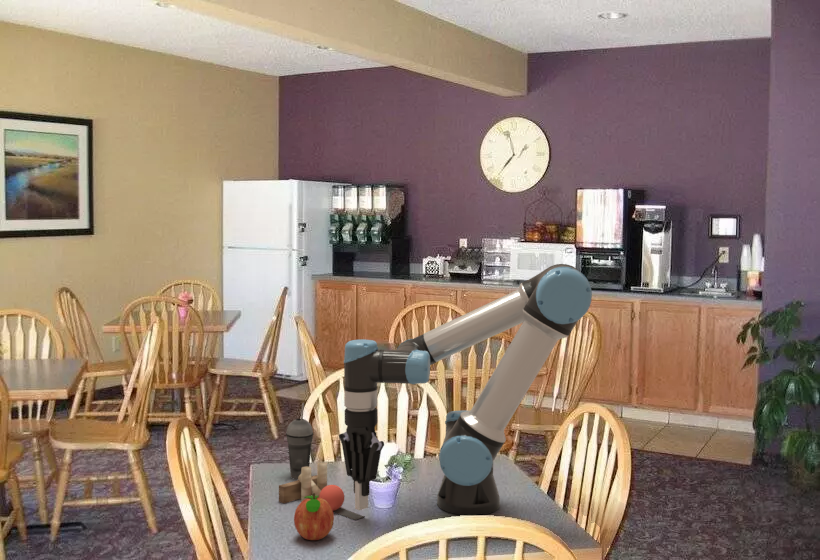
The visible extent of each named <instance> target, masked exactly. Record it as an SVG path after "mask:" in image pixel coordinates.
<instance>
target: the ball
mask: <svg viewBox="0 0 820 560" xmlns="http://www.w3.org/2000/svg"><path fill="white" fill-rule="evenodd" d="M319 498H322V499H324V500H325V501H327V502H328V504H329V505H330V506H331V508H332V510H333V511H334V510H337V509H339V508H342V506H343V504H344V502H345V493H344V491H343V489H342V488H341V487H340V486H338V485H336V484H327V486H326V487H324V488H323V489H322V490H321V492H320V495H319Z"/></svg>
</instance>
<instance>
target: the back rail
mask: <svg viewBox="0 0 820 560" xmlns="http://www.w3.org/2000/svg"><path fill="white" fill-rule="evenodd" d="M311 479H312V481H313V482H314V483H315V484H316V485H317V474H316V475H311ZM297 500H301V482H300V481H299V480H298V479H296V480H293V481H290V482H287V483H282V484H279V485H278V502H279V503H282V504H287V503H290V502H295V501H297Z"/></svg>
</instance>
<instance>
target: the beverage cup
mask: <svg viewBox="0 0 820 560" xmlns="http://www.w3.org/2000/svg"><path fill="white" fill-rule="evenodd" d="M304 409H305V402H302V404H301V412H300V418H296V419H293V420H292V421H291V422H290V423H289V424H288V426H287V427H286V433H285V436H286V441H287V447H288V458H289V459H288V460H289V470H290V478H291V477H292V478H291V479H293V478H294V479H293V480H298V477H299V475H300V474H301V468H302V467H306V466H307V467H310V462H311V451H312V442H313V437H314V432H313V427H312V425H311V423H310V422H309V421H308V420H306V419H305V418H303V417H304V412H305V411H304Z"/></svg>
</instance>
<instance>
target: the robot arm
mask: <svg viewBox="0 0 820 560" xmlns="http://www.w3.org/2000/svg"><path fill="white" fill-rule="evenodd" d="M592 297H593V292H592V287H591V284H590V282H589V279H588V278H587V277H586V276H585V274H583V273H582V272H581V271H580V270H579V269H578V268H576V267H574V266H572V265H570V264H566V263H565V264H563V263H557V264H553V265H551V266H548V267H547V268H545V269H544V270H542V271H541V272H539V273H537V274H536V275H534V276H533V277H531V278H529V279H527V280H525V281H523V282H521V283H520V285H519V286H518V289H516V290H514V291H512V292H510V293H507V294H506V295H504V296H503V295H502V296H501V297H499V298H497V299H495V300H492V301H491V302H488V303H486V304H484V305H481V306H480V307H477V308H475V309H473V310H471V311H469V312H466V313H464V314H463V315H460V316H458V317H456V318H454V319H452V320H450V321H448V322H446V323H444V324H441V325H439V326H437V327H435V328H433V329H431V330H428V331H427V332H424V333H423V334H421V335H418V336H416V337H413V338H409V339H406V340H404V341H402V342H401V343H400V344H399V346H397V348H396V349H381V348H379V347H378V343H377V342H376V340H372V339H365V338H363V339H353V340H349V341H347V342H346V343H345V346H344V357H343V359H344V360H343V369H344V371H343V372H344V373H343V374H344V389H343V390H344V401H343V403H344V407H345V409H344V424H345V425H346V426H347V427H346V430H345V432H342V433H339V434H338V438H339V440H340V443H341V447H342V453H343V458H344V459H343V460H344V465H345V470H346V471H345V472H346V475H347V476H348V477H351V479H352V481H353V493H354V509H355V510H357V511H362V510H364V509H368V508H369V495H370V482H371V481H375V480H377V476H378V471H379V466H380V465H379V464H380V459H381V455H382V454H381V453H382V449H383V448H384V446H385V442H384V440H381V441H380V440H379V439H378V438H377V432H376V425H378V409H377V408H376V407H377V406H378V383H380V384H386V383H387V384H403V385H404V384H410V385H420V384H426V383H428V382H429V380H430V376H431V366H432V365H435V364H436V363H438V362H440V361H442V360H444V359H446V358H449V357H451V356H453V355H455V354H457V353H460V352H462V351H463V350H464V351H465V350H466V349H468V348H471V347H473V346H475V345H477V344H479V343H481V342H483V341H486V340H487V339H490V338H492V337H494V336H497V335H499V334H501V333H504V332H505V331H507V330H509V329H513V328H514V327H517V326H519V325H521V326H519V328H518V330H517V332H516V333H515V335H514V337H513V339H512V340H511V342H510V344H509V346H508V347H507V349H506V350H505V352H504V354H503V355H502V357H501V358H500V359H499V362H498V364H497V365H496V367H495V368H494V371H493V372H492V374H491V375H490V377H489V379H488V381H487V382H486V383H485V384H486V385H485V386H484V388H483V389H482V390H481V393H480V394H479V396H478V397H477V399H476V401H475V403H474V404H473V406H472V408H471V409H470V410H466V409H465V410H451V411H449V412H447V413H446V416H445V417H446V418H445V421H444V424H445V435H444V436H445V437H444V439H443V443H442V445H441V447H440V448H439V449H440V450H439V453H438V460H439V465H440V469H441V471H442V473H443V474H444V475H443V478H442V480H441V484H440V487H439V489H438V492H437V499H436V501H437V503H436V504H437V506H438V507H439V509H440V510H442V511H445V512H447V513H450V514H455V515H460V516H465V515H464V514H483V515H488V514H491V513H494V512H495V511H497V510H499V508H500V506H501V504H500V503H501V502H500V501H501V496H500V494H499V490H498V487H497V483H496V481H495V477H494V460H495V459H496V457H497V456H498V454H499V452H500V450H501V449H502V447H503V445H504V444H505V443H506V440H507V438H506V435H505V429H506V427H507V426H508V424H509V422H510V420H511V419H512V417H513V416H514V414H515V413H516V410H517V409H518V407H519V405H520V404H521V403H522V401H523V399H524V397H525V396H526V394H527V392H528V391H529V389H530V387H531V386H532V384H533V382H534V381H535V379H536V378H537V376H538V374H539V373H540V371H541V369H542V368H543V366H544V364H545V363H546V361H547V360H548V358H549V356H550V355H551V352H552V351H553V349H554V348H555V346H556V344H557V343H558V341H559V340H561V339H566V338H569V336H570V335H571V333H572V332H573V330H574V328H575V326H576V325H577V323H578V321H579V320H581V319H582V318H583V317H584V316H585V315H586V314H587V312H588V311H589V309H590V307H591V304H592Z"/></svg>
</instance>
